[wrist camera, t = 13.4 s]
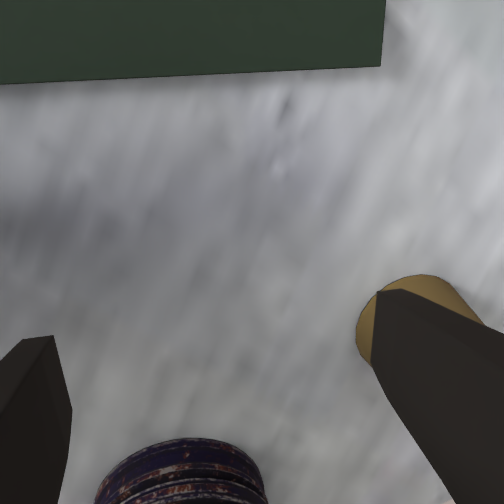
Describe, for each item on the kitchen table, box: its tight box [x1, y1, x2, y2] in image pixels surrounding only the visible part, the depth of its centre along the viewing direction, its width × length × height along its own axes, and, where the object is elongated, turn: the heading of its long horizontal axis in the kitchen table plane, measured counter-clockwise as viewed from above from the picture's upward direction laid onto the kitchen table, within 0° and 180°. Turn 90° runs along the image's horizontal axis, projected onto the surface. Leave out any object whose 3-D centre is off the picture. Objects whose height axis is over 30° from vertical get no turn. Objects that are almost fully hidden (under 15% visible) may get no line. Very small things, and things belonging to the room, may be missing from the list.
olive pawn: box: [356, 275, 485, 367], centre depth 20 cm, size 6×6×11 cm
